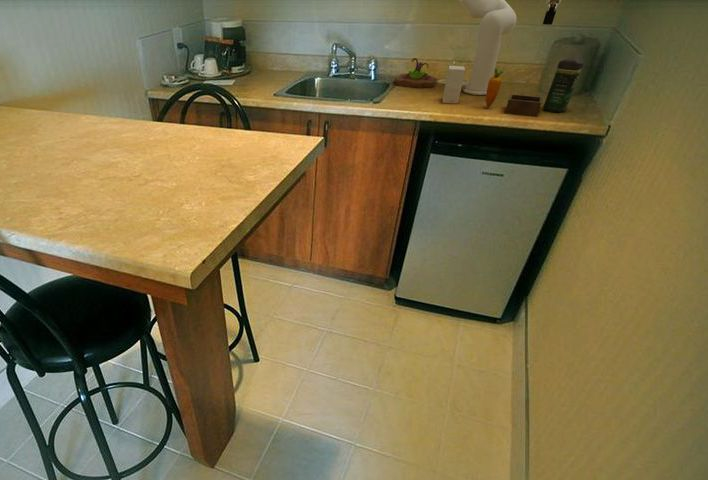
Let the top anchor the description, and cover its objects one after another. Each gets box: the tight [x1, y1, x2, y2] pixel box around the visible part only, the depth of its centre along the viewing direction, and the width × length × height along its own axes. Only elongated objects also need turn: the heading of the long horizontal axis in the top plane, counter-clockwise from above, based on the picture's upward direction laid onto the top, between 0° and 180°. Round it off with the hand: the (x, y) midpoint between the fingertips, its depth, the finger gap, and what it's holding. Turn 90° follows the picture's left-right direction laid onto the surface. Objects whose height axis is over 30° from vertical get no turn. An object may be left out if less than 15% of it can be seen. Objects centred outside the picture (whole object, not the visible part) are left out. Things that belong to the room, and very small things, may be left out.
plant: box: [394, 57, 437, 89], centre depth 199 cm, size 20×20×11 cm
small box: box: [442, 65, 466, 104], centre depth 171 cm, size 8×6×13 cm
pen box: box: [504, 93, 543, 117], centre depth 159 cm, size 11×9×5 cm
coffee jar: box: [542, 56, 585, 113], centre depth 157 cm, size 10×8×19 cm
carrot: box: [485, 66, 505, 109], centre depth 161 cm, size 5×5×15 cm
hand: (547, 23), depth 157 cm, fingers open, 9 cm apart
